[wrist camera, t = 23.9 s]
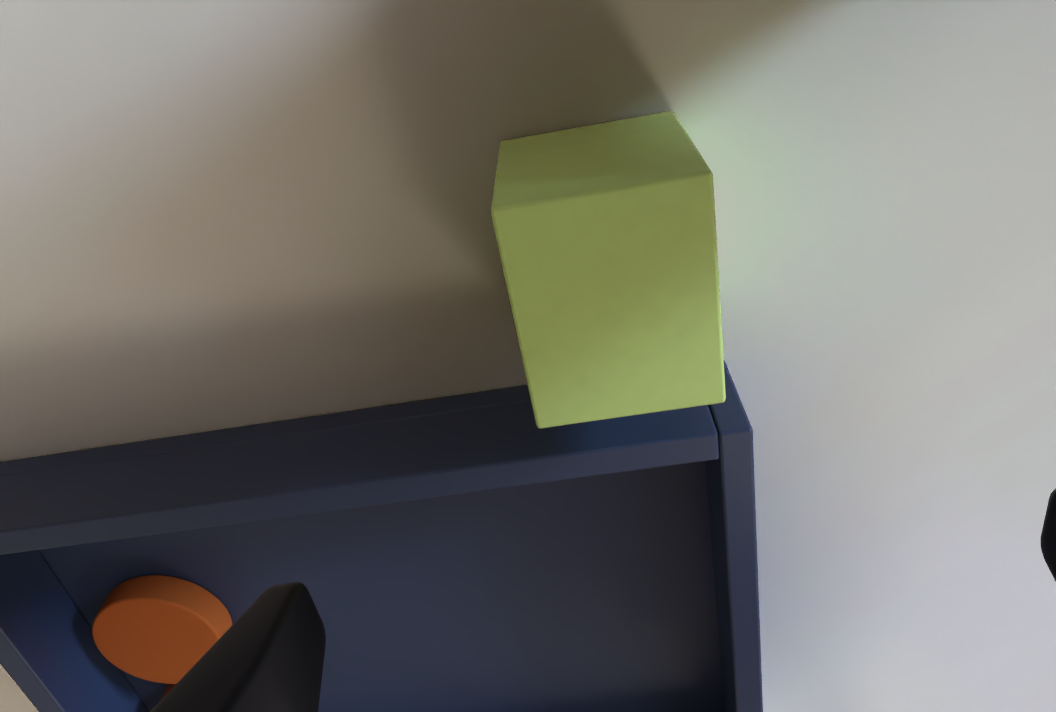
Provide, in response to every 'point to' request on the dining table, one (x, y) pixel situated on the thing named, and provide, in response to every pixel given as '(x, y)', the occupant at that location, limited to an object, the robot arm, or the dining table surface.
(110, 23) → the dining table surface
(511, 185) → the sponge
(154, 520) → the tray
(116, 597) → the orange flat cylinder
